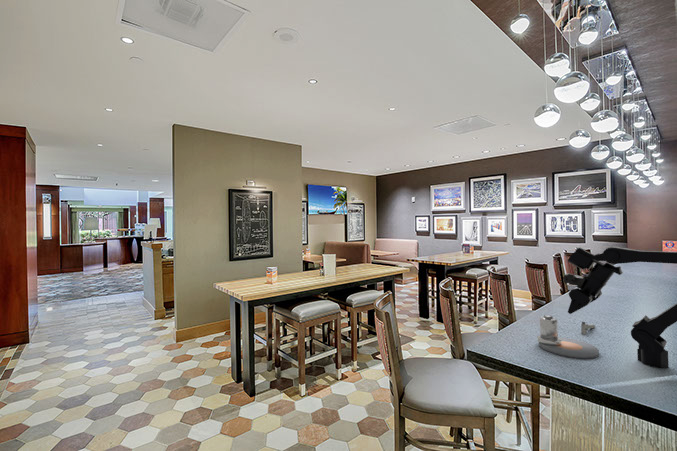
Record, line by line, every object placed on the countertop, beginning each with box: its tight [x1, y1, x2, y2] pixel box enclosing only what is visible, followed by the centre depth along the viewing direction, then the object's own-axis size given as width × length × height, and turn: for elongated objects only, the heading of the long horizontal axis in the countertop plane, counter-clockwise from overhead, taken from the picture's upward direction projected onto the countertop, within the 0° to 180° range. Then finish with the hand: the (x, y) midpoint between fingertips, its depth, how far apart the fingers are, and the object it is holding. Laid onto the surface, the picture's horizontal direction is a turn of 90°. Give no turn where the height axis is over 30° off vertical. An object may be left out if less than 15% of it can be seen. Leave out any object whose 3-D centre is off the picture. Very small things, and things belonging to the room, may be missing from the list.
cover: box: [536, 314, 561, 346], centre depth 119 cm, size 8×8×10 cm
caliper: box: [580, 321, 596, 336], centre depth 138 cm, size 20×1×6 cm, turn 131°
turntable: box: [538, 336, 600, 359], centre depth 116 cm, size 18×18×1 cm
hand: (572, 310), depth 119 cm, fingers open, 9 cm apart
